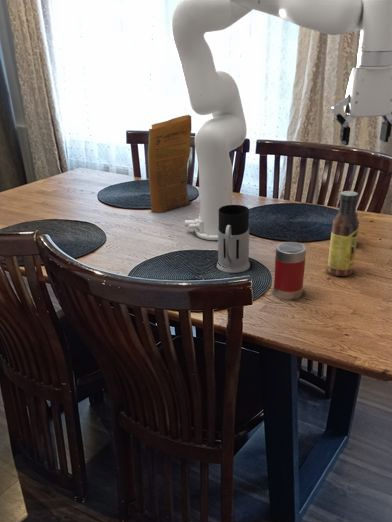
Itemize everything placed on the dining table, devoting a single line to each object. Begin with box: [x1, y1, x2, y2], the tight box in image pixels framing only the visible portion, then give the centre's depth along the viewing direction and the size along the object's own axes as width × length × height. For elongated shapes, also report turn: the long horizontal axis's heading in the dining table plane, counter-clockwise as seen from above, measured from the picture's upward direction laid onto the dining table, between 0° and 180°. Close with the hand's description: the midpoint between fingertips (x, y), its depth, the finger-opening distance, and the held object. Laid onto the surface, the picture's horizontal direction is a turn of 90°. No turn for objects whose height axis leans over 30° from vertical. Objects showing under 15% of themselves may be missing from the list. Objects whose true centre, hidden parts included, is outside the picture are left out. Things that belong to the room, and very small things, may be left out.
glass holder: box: [216, 204, 251, 274], centre depth 132 cm, size 9×14×15 cm, turn 167°
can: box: [273, 241, 307, 301], centre depth 122 cm, size 7×7×12 cm
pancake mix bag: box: [147, 114, 193, 213], centre depth 171 cm, size 7×19×28 cm, turn 131°
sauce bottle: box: [327, 190, 360, 277], centre depth 128 cm, size 7×6×20 cm
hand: (364, 142), depth 125 cm, fingers open, 9 cm apart
